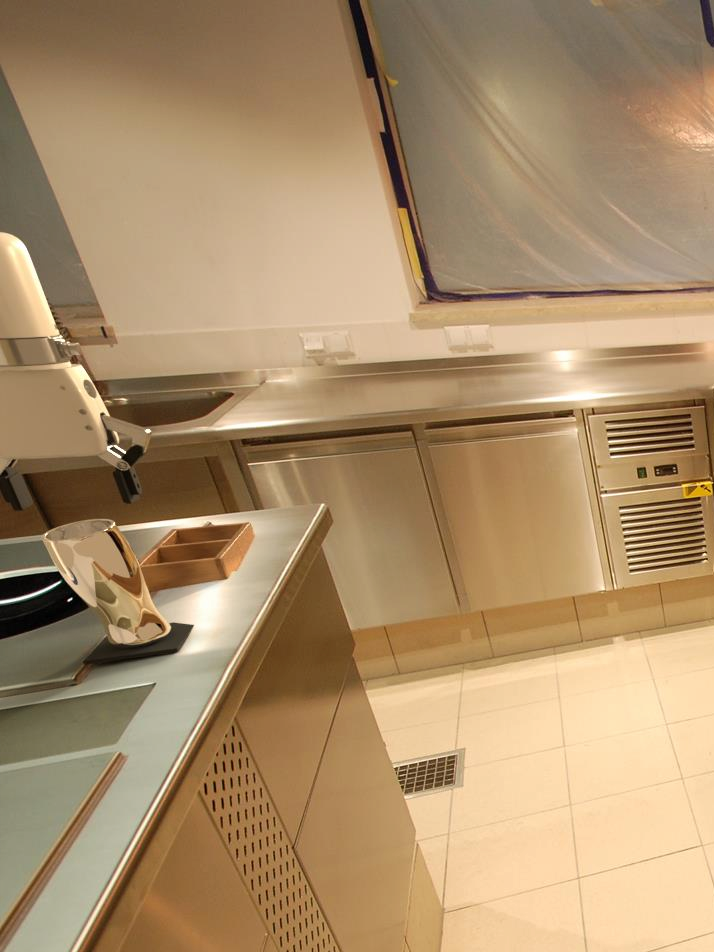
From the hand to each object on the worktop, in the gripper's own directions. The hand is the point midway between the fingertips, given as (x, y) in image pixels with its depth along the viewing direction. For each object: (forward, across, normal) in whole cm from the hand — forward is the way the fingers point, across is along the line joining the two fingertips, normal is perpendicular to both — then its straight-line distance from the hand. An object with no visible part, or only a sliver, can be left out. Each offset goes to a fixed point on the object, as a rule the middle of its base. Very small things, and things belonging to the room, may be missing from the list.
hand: (79, 504), depth 100 cm
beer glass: (+18, -1, 0) cm, 18 cm away
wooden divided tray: (+18, -1, -27) cm, 33 cm away
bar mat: (+18, -1, 0) cm, 18 cm away
